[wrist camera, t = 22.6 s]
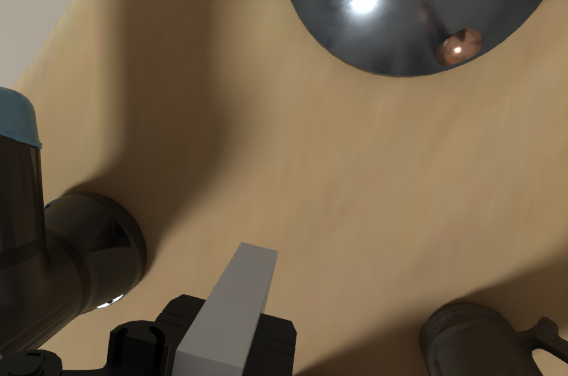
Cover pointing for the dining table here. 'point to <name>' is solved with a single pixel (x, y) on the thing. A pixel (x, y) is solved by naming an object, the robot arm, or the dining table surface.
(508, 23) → the disc
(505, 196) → the dining table surface
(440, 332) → the beer stein
